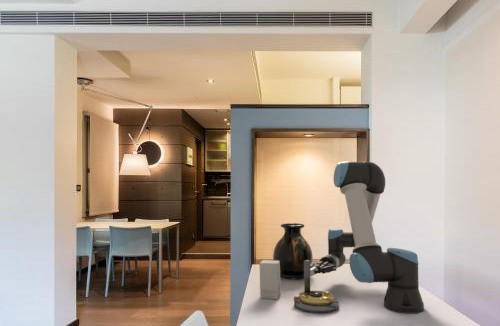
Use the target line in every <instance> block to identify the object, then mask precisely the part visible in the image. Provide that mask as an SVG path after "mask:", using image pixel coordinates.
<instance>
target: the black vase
mask: <svg viewBox="0 0 500 326" xmlns="http://www.w3.org/2000/svg"><path fill="white" fill-rule="evenodd" d="M280 227H281V228H283V230H284V234H283V235H282V237H280V239H279V240H278V241H277V242H276V243H275V247H274V249H273V254H272V261H280V278H282V279H286V280H304V260H310V264H311V262H313V252H312V248H311V246H310V244H309V242H308V240H306V239H305V237H304V236H303V235H302V231H301V230H302V229H303V228H305V224H304V223H294V222H293V223H290V222H287V223H281V224H280ZM313 263H314V262H313Z"/></svg>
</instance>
